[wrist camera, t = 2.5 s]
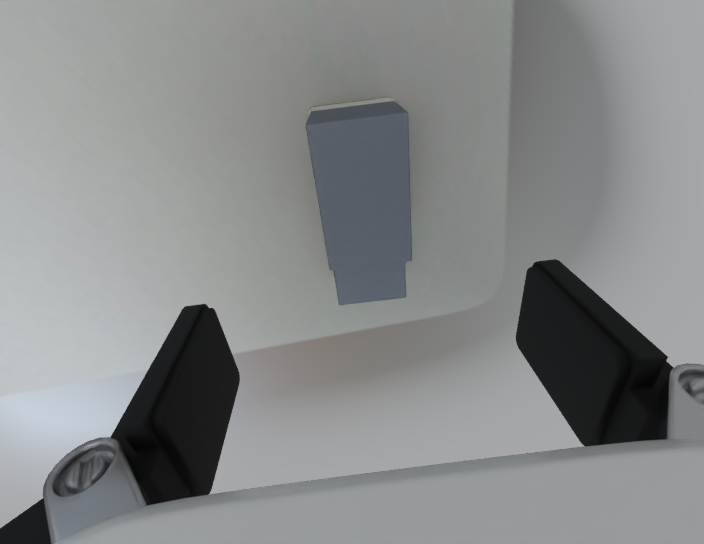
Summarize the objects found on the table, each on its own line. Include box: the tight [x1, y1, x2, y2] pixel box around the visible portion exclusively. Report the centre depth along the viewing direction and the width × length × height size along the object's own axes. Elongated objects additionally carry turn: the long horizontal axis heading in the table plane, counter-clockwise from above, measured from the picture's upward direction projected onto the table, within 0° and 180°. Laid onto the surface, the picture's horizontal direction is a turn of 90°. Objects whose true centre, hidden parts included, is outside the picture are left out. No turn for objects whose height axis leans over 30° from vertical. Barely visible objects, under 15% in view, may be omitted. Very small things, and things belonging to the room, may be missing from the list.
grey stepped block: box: [306, 97, 412, 305], centre depth 20 cm, size 11×4×6 cm, turn 6°
